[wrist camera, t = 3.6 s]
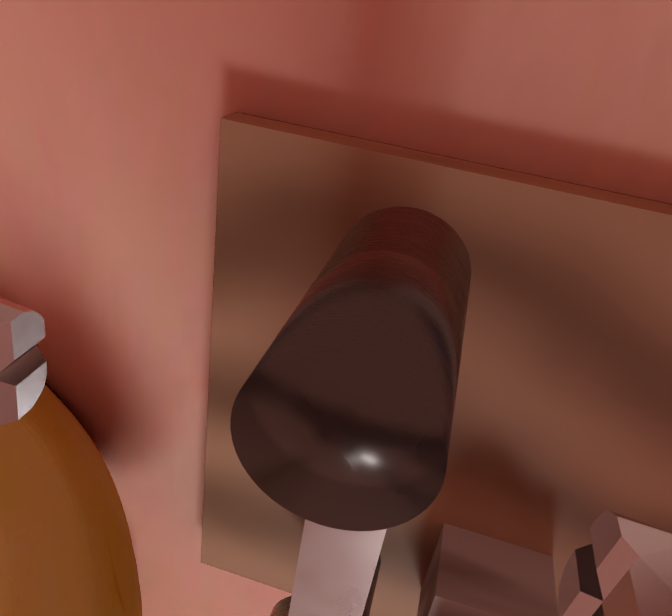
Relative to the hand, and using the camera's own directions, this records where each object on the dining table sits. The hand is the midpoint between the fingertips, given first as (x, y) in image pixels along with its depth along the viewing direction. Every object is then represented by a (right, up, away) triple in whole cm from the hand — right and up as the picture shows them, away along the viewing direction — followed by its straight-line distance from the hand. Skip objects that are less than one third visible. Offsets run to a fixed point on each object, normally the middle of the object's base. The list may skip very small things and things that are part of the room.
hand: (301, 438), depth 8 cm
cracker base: (+5, -4, +15) cm, 16 cm away
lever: (+1, -4, +11) cm, 12 cm away
